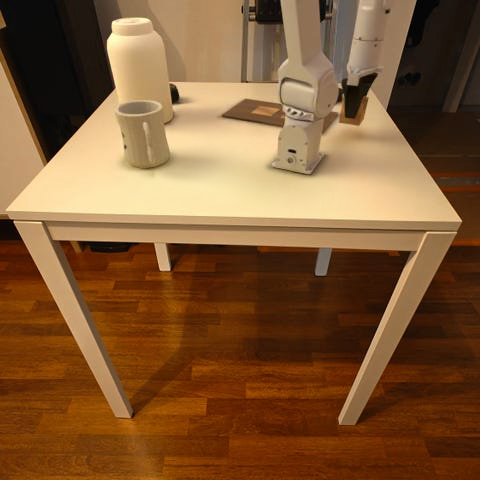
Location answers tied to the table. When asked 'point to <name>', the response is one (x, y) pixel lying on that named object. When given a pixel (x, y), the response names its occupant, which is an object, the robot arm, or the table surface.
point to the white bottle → (139, 63)
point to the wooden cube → (359, 116)
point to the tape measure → (174, 92)
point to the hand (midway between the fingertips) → (352, 114)
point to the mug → (143, 133)
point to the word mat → (265, 113)
